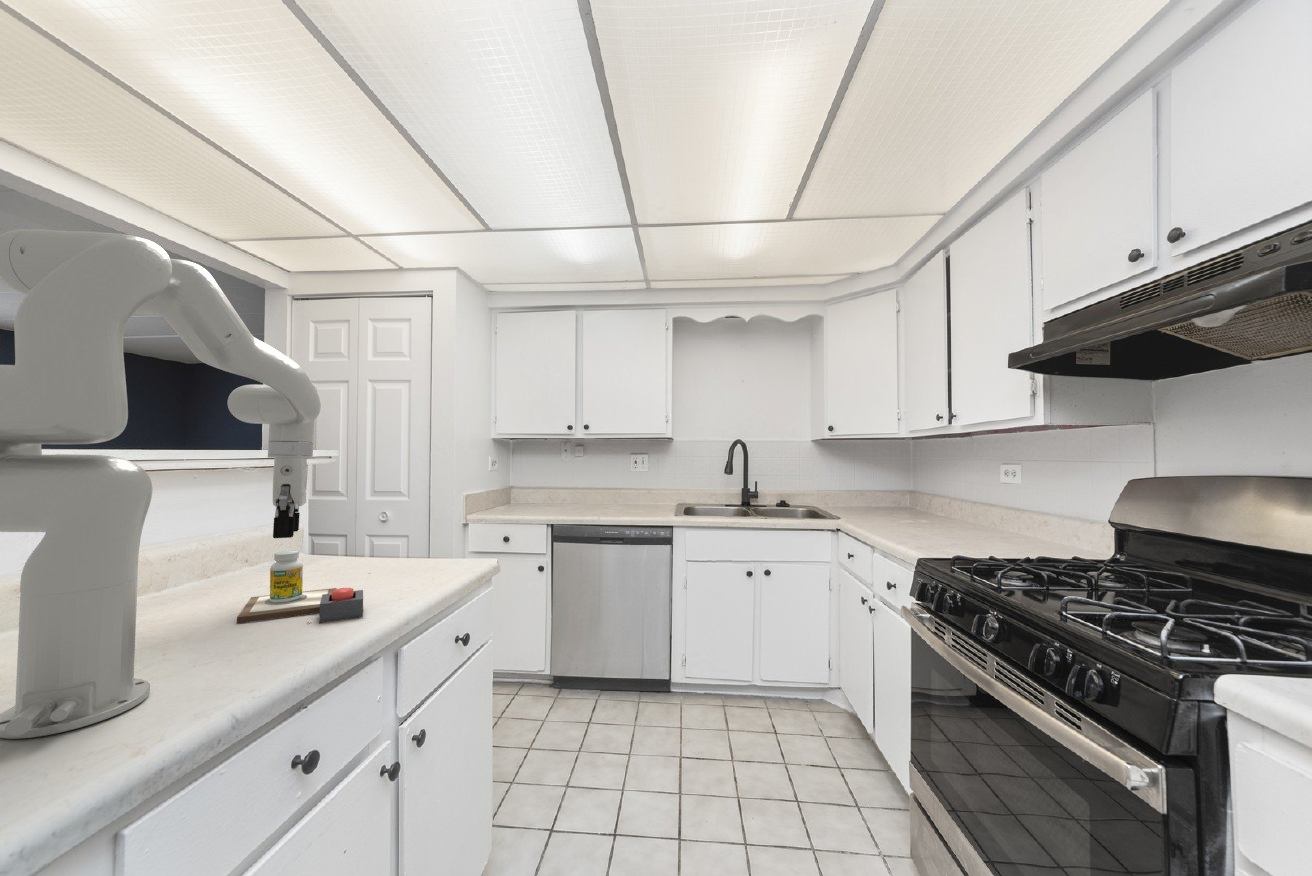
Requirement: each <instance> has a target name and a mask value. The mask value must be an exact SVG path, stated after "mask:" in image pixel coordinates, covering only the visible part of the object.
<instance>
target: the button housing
mask: <svg viewBox="0 0 1312 876" xmlns="http://www.w3.org/2000/svg"><path fill="white" fill-rule="evenodd" d="M363 614H364V590H363V589H358V590H353V598H352V599H344V600H335V601H332V593H331V594H322V598H321V602H320V613H319V615H318V616H319V618H318V619H319V620H318V622H319V624H322V623H330V622H337V621H344V620H351V619H357V618H363V617H364V616H363Z"/></svg>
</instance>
